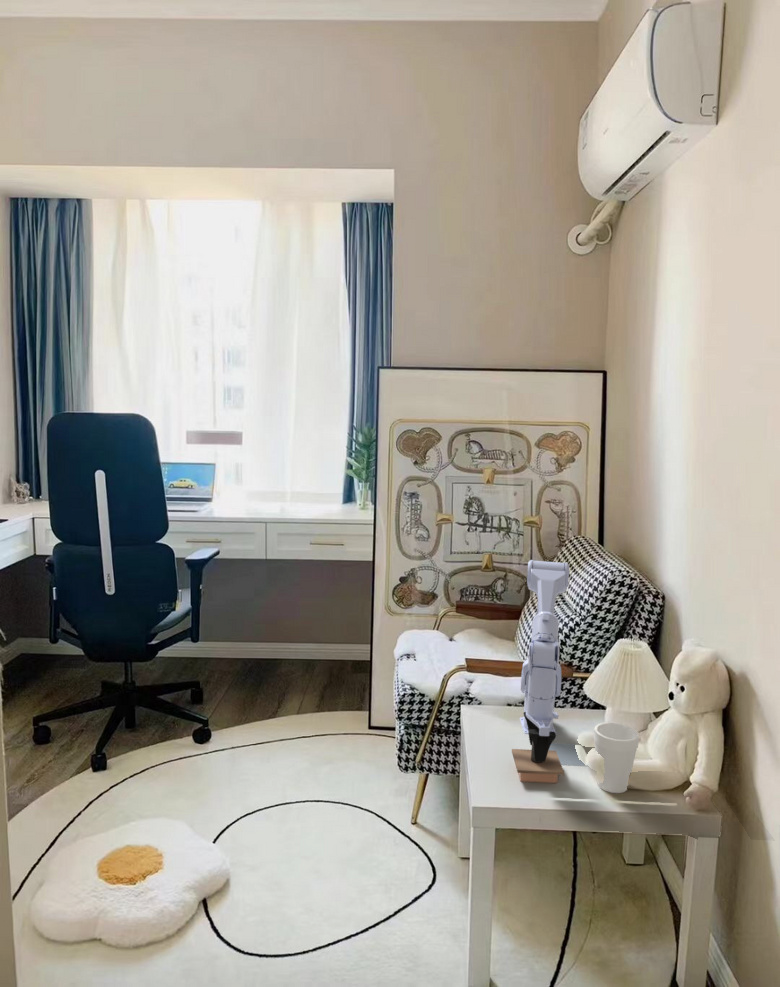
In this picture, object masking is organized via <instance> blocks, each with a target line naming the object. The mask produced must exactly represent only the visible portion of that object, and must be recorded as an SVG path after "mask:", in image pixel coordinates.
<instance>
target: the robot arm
mask: <svg viewBox="0 0 780 987" xmlns="http://www.w3.org/2000/svg"><path fill="white" fill-rule="evenodd" d="M569 577H570V564H569V563H568V562H566V561H565V562H556V561H545V560H543V561H542V560H533V559H530V560H529V561H528V562H527V577H526V579H527V580H526V583H527V588H528V590H530V591H532V592H534V593H535V595H536V597H537V605H536V607H537V608H536V615H534V617H533V618H532V627H531V640H530V642H529V644H528V657H527V659H525V660H524V662H523V663H522V669H521V675H520V677H521V678H520V691H521V692H522V694H524V704H523V705H524V706H523V717H522V716H521V717H519V722H520V725H521V728H522V731H523V734H524V735H528V738H529V744H530V746H532V742H533V748H534V757H535V761H542V762H545V760H546V757H547V754H548V750H549V747H550V745H551V743H554V741H555V739H556V736H557V732H556V729H555V727H554V720H555V719H556V720H557V719H559V713H558V712H556V711H555V701H556V697H557V698H558V697H560V695H561V691H562V690H561V689H562V667H561V664H560V663H559V662H560V644H559V638H558V636H559V619H558V617H556V615H555V606H556V600H557V597H558V595H559V594H564V593H566V591H567V589H568V586H569V580H570V578H569Z"/></svg>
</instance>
